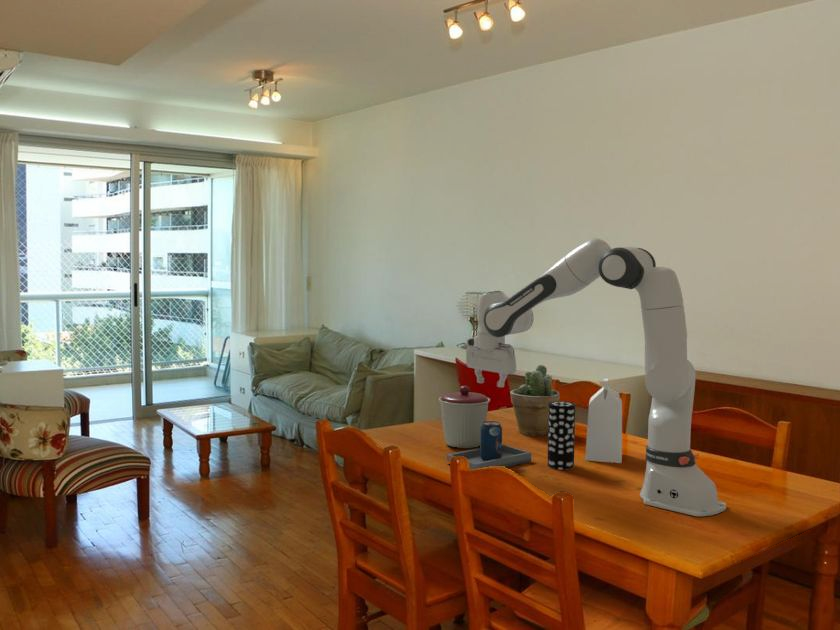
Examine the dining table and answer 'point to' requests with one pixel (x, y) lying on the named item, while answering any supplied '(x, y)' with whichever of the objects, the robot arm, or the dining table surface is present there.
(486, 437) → the soda can
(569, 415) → the white-spotted black cylinder
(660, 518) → the dining table surface
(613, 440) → the milk
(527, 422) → the potted plant
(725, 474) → the dining table surface
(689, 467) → the robot arm
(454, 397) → the canister
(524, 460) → the tray
